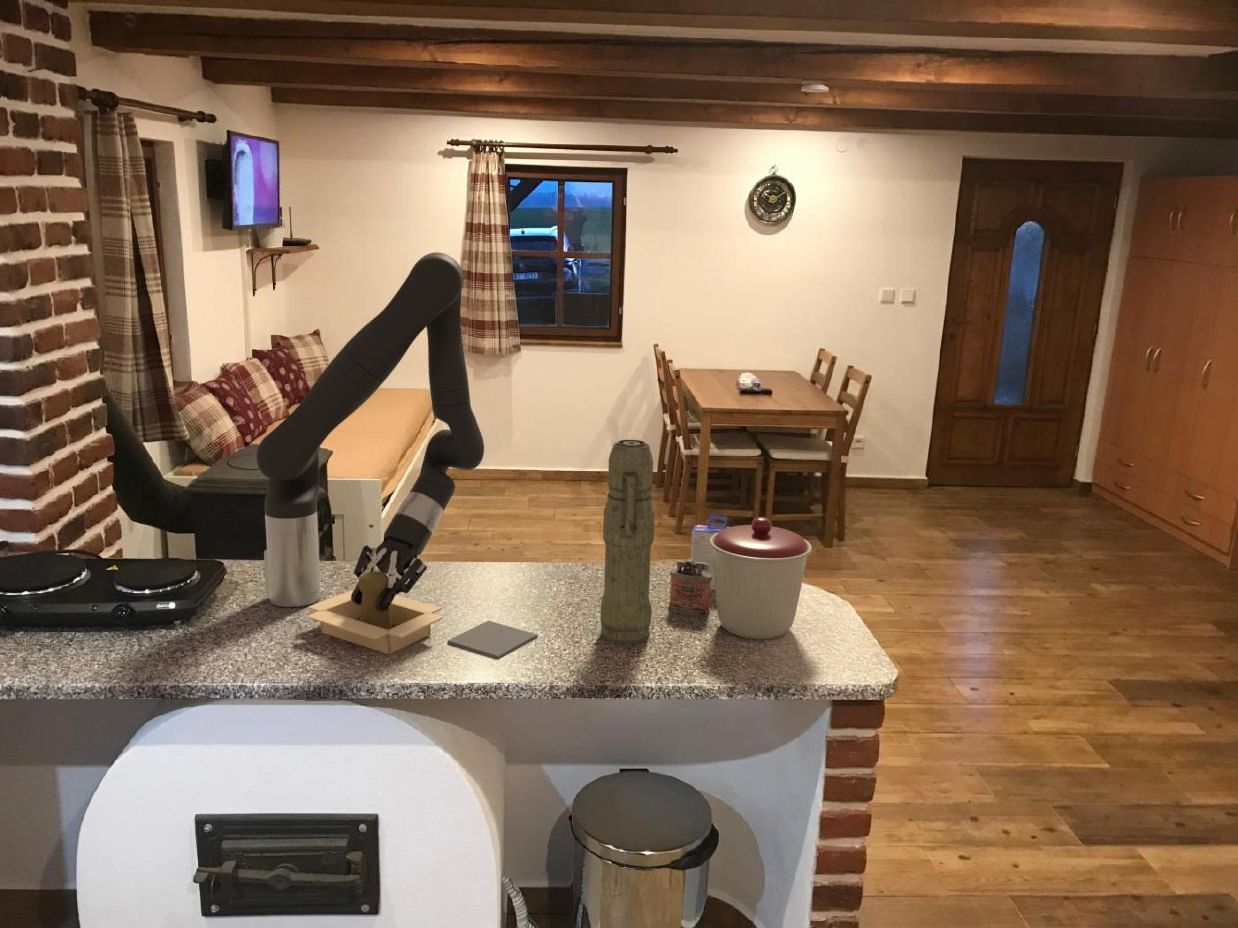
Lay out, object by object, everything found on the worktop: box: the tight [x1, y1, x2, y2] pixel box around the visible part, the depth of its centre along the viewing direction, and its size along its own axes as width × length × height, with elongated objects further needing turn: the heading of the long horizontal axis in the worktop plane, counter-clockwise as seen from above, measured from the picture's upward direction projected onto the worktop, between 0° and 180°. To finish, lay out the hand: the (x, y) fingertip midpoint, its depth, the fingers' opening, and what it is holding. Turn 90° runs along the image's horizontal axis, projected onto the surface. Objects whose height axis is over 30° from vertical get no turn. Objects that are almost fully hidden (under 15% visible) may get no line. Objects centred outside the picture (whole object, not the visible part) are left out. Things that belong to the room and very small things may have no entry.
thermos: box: [599, 439, 656, 645], centre depth 170 cm, size 9×12×35 cm
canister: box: [710, 516, 813, 640], centre depth 176 cm, size 18×18×21 cm
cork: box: [358, 572, 394, 630], centre depth 170 cm, size 6×6×11 cm
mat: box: [447, 620, 538, 660], centre depth 170 cm, size 11×11×1 cm
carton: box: [305, 589, 444, 655], centre depth 171 cm, size 22×16×4 cm
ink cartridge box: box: [690, 514, 731, 591], centre depth 198 cm, size 10×6×14 cm, turn 78°
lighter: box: [668, 558, 712, 616], centre depth 185 cm, size 8×3×10 cm, turn 68°
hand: (367, 605), depth 169 cm, fingers closed on cork, 5 cm apart
